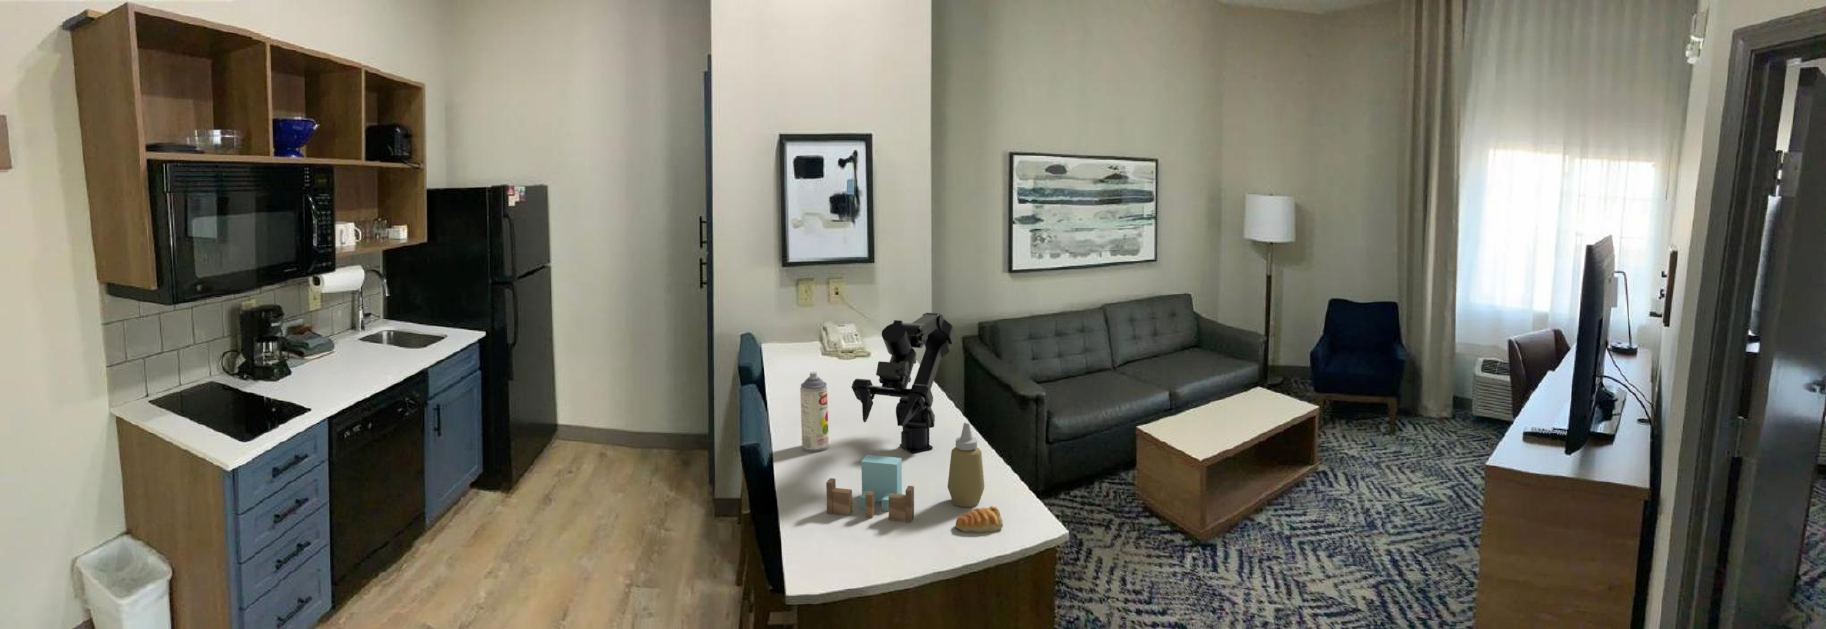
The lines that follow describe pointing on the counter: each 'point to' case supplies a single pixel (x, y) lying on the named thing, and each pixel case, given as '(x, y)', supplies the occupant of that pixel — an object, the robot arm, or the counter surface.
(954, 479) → the squeeze bottle
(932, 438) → the counter surface
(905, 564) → the counter surface
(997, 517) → the pastry
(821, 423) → the aerosol can
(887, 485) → the pale blue brick
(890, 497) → the rail
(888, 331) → the robot arm
